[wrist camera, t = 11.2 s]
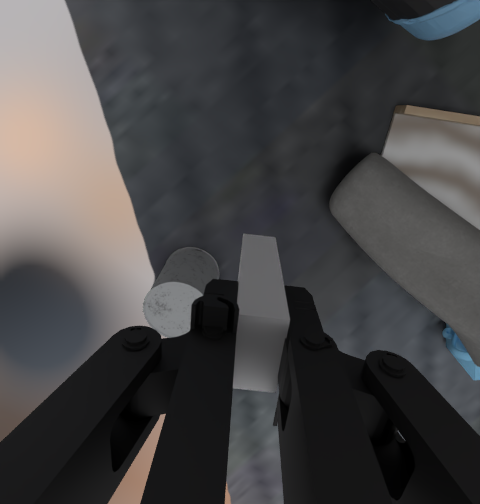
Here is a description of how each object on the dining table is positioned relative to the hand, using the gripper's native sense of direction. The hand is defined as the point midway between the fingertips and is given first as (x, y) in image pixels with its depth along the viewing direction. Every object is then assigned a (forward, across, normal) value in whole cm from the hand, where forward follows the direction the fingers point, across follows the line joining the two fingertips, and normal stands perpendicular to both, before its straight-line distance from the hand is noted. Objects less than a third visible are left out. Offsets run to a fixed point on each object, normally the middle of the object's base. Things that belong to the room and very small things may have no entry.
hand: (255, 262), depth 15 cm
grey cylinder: (+37, -8, -20) cm, 43 cm away
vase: (+32, +13, 0) cm, 35 cm away
